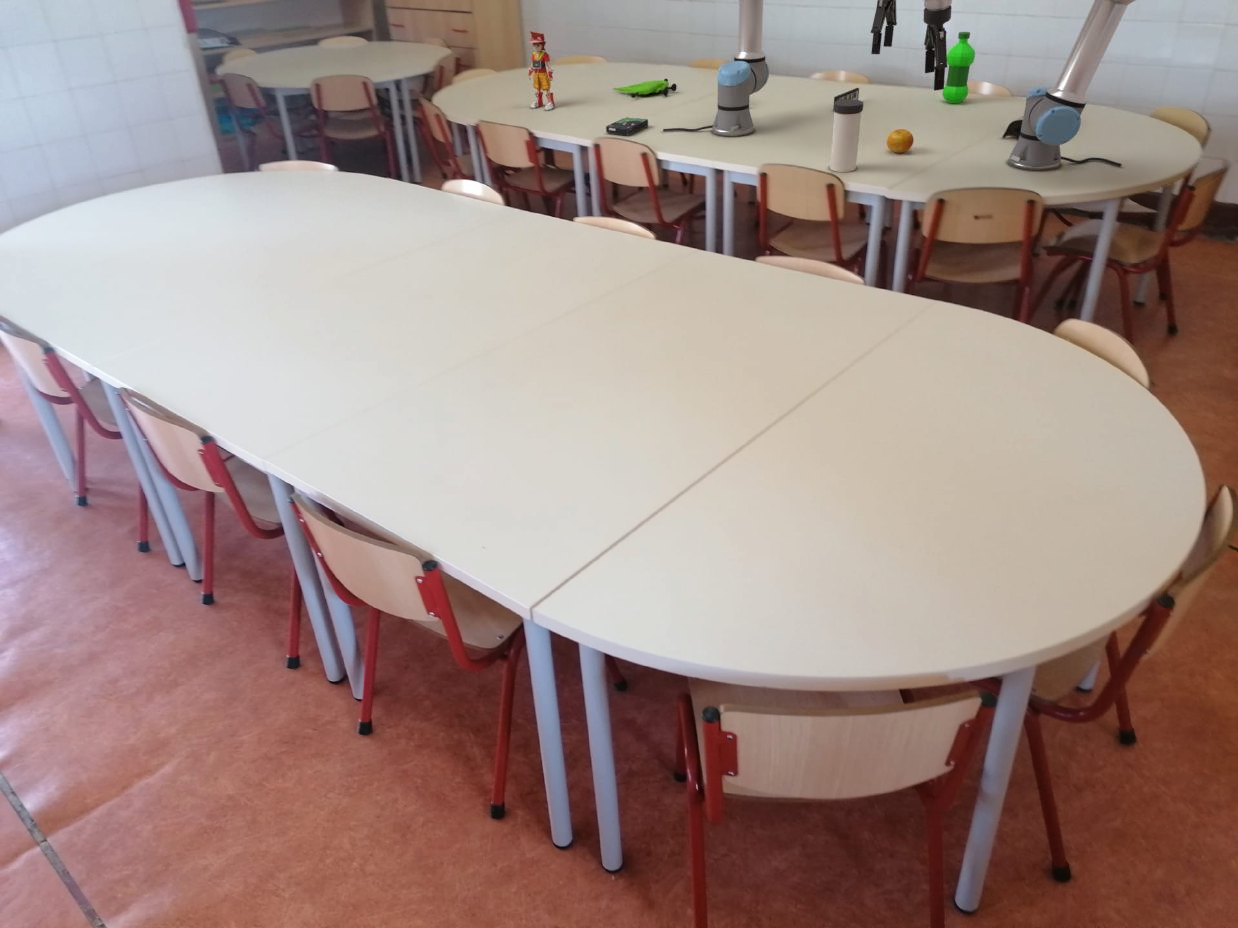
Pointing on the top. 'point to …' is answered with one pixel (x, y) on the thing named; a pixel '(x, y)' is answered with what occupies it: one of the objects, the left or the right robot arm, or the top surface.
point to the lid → (848, 106)
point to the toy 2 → (648, 88)
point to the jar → (845, 142)
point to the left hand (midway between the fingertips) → (881, 50)
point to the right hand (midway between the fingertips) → (934, 81)
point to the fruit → (900, 140)
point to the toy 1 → (541, 71)
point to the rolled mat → (1014, 128)
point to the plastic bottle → (958, 69)
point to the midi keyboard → (848, 95)
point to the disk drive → (627, 126)
